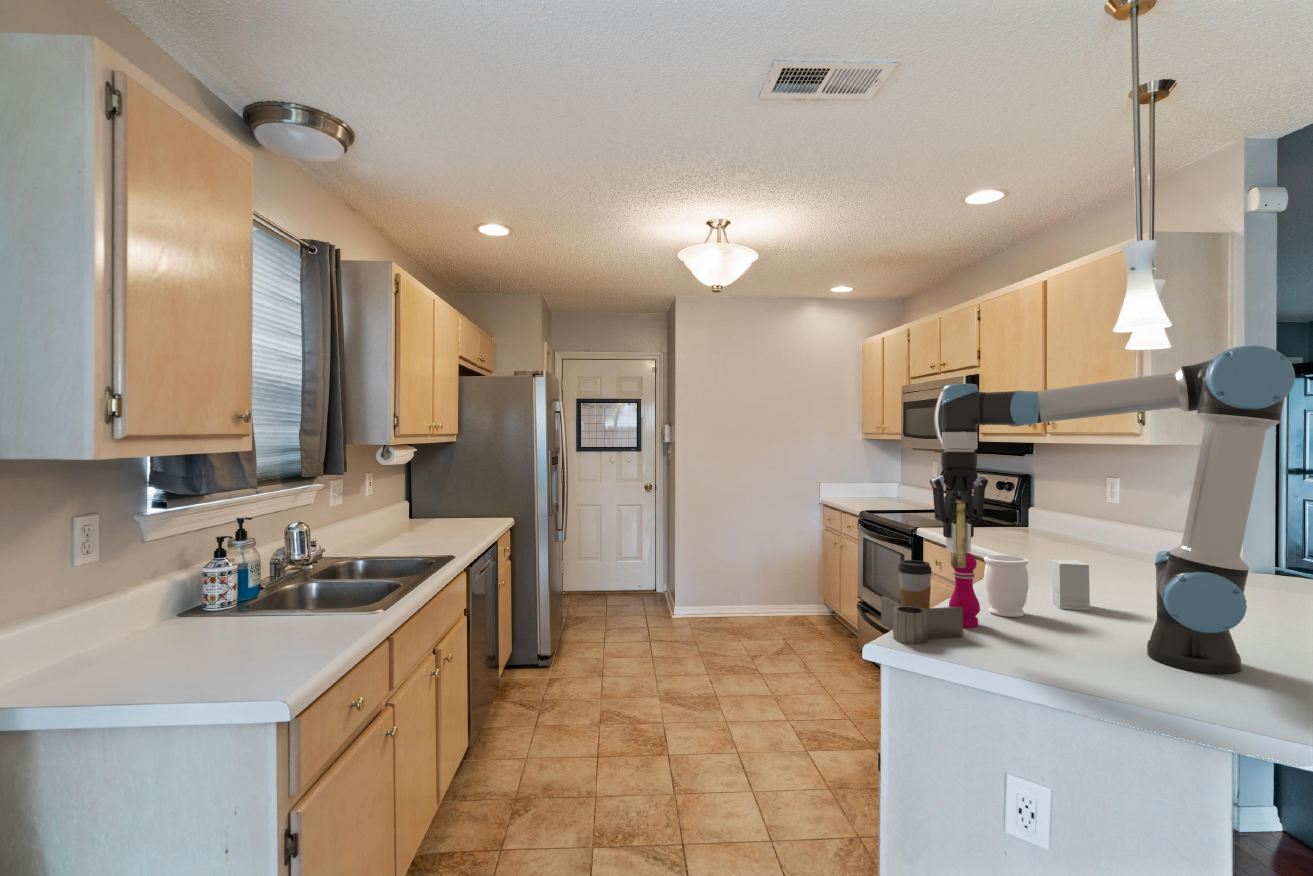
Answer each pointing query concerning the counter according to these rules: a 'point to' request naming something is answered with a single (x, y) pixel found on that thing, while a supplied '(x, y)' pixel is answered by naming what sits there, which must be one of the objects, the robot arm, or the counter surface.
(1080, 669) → the counter surface
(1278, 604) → the counter surface
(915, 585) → the coffee cup
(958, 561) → the gold metal bar
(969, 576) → the pepper mill
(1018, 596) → the jar
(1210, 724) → the counter surface
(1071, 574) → the supplement box
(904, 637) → the hinge
